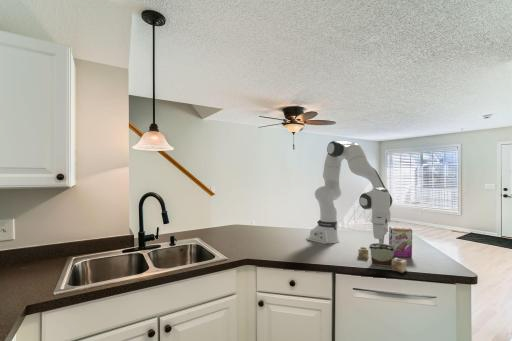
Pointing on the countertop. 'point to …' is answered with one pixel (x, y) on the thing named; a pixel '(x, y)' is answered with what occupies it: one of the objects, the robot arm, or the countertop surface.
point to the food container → (381, 254)
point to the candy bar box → (401, 241)
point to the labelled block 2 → (399, 265)
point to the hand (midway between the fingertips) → (381, 243)
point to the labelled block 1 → (363, 252)
